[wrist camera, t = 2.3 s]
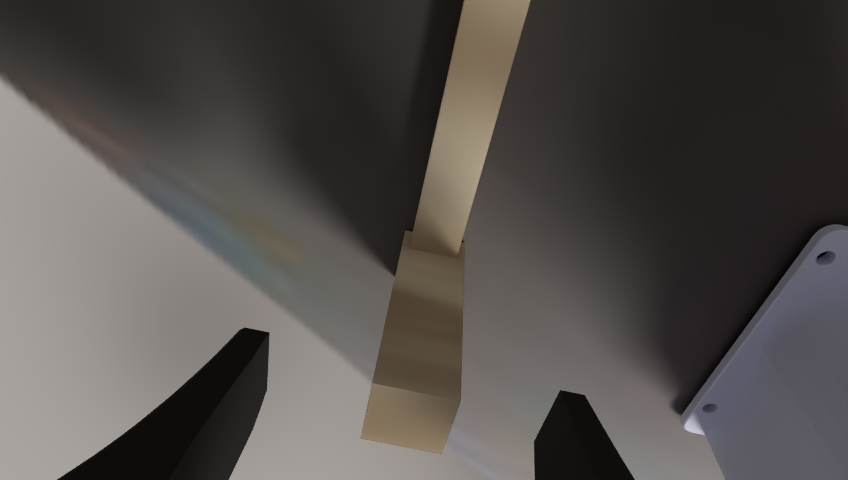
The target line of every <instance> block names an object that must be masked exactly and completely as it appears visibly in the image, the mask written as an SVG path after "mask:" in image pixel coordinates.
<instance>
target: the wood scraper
mask: <svg viewBox="0 0 848 480" xmlns="http://www.w3.org/2000/svg"><path fill="white" fill-rule="evenodd" d="M529 4H530V0H464V2H463V7H462V11H461V16H460V20H459V25H458V29H457V34H456V38H455V43H454V47H453V52H452V56H451V61H450V65H449V70H448V74H447V79H446V84H445V88H444V93H443V97H442V102H441V106H440V111H439V115H438V120H437V124H436V129H435V133H434V138H433V142H432V147H431V151H430V156H429V161H428V165H427V170H426V174H425V179H424V183H423V188H422V192H421V197H420V201H419V206H418V210H417V215H416V219H415V224H414V229H413V232H412V231H407V230H405V234H404V238H403V243H402V248H401V252H400V257H399V262H398V266H397V271H396V275H395V280H394V285H393V289H392V294H391V299H390V303H389V308H388V312H387V317H386V322H385V326H384V331H383V335H382V340H381V345H380V349H379V354H378V359H377V363H376V368H375V372H374V377H373V382H372V386H371V391H370V396H369V401H368V405H367V410H366V415H365V420H364V425H363V430H362V435H361V439H366V440H371V441H376V442H381V443H387V444H392V445H396V446H401V447H406V448H412V449H417V450H422V451H427V452H432V453H438V454H442V451H443V449H444V446H445V443H446V440H447V438H448V435H449V432H450V429H451V427H452V424H453V421H454V418H455V415H456V413H457V410H458V407H459V404H460V401H461V372H462V334H463V296H464V258H465V243H463V242H461V241H462V238H463V234H464V231H465V227H466V224H467V220H468V217H469V213H470V210H471V206H472V203H473V200H474V196H475V193H476V189H477V186H478V182H479V179H480V175H481V172H482V168H483V165H484V161H485V158H486V154H487V151H488V147H489V144H490V140H491V137H492V133H493V130H494V126H495V123H496V119H497V116H498V112H499V109H500V105H501V102H502V98H503V95H504V91H505V88H506V84H507V81H508V77H509V74H510V70H511V67H512V63H513V60H514V56H515V53H516V49H517V46H518V42H519V39H520V35H521V32H522V28H523V25H524V21H525V18H526V14H527V11H528V7H529Z"/></svg>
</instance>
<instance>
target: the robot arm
mask: <svg viewBox="0 0 848 480" xmlns="http://www.w3.org/2000/svg"><path fill="white" fill-rule="evenodd" d="M826 251H827V253H826V254H825V255H824V256H822V257H819V258H817V256H819V255H820V254H821V253H823V252H826ZM268 353H269V332H264V331H259V330H254V329H249V328H243V329H241V330H239V331H238V332H237V333H236V334H235V335H234V337H233V338H232V339H231V340H230V341H229V342H228V343H227V344H226V345H225V346H224V347H223V348H222V349H221V350H220V351H219V352H218V353H217V354H216V355H215V356H214V357H213V358H212V359H211V360H210V361H209V362H208V363H207V364H206V365H204V366H203V367H202V368H201V370H199V371H198V372H197V373H196V374H195V375H194V376H193V377H192V378H190V379H189V380H188V381H187V382H186V383H185V384H184V385H183V386H182V387H180V388H179V389H178V390H177V391H176V392H175V393H174V394H173V395H171V396H170V397H169V398H168V399H167V400H165V401H164V402H163V403H162V404H160V405H159V406H158V407H157V408H156V409H154V410H153V411H152V412H151V413H150V414H148V415H147V416H146V417H145V418H143V419H142V420H141V421H140V422H138V423H137V424H136V425H135V426H133V427H132V428H131V429H129V430H128V431H127V432H125V433H124V434H123V435H122V436H120V437H119V438H117V439H116V440H115V441H113V442H112V443H111V444H109V445H108V446H107V447H105V448H104V449H102V450H101V451H99V452H98V453H97V454H95V455H94V456H92V457H91V458H89V459H88V460H86V461H85V462H83V463H82V464H80V465H79V466H77V467H76V468H74V469H73V470H71V471H70V472H68V473H67V474H65V475H64V476H62V477H61V478H59V479H57V480H229V478H230V476H231V474H232V472H233V469H234V467H235V465H236V463H237V461H238V459H239V457H240V455H241V453H242V451H243V449H244V447H245V445H246V443H247V440H248V438H249V436H250V434H251V431H252V430H253V427H254V424H255V422H256V419H257V416H258V413H259V411H260V408H261V405H262V402H263V399H264V396H265V393H266V391H267V376H268ZM680 420H681V423H682V425H683V428H684V429H685V430H686V431H689V432H692V433H697V434H702V435H706V437H707V439H708V442H709V444H710V446H711V448H712V451H713V453H714V455H715V457H716V460H717V462H718V464H719V466H720V469H721V471H722V473H723V475H724V478H725V480H848V226H844V225H837V224H832V225H828V226H825V227H823V228H821V229H820V230H818V231H817V232H816V233H815V234H814V235H813V237H812V238H811V239H810V241H809V242H808V243H807V245H806V246H805V247H804V249H803V250H802V252H801V253H800V254H799V256H798V257H797V258H796V260H795V261H794V262H793V264H792V265H791V267H790V268H789V269H788V271H787V272H786V273H785V275H784V276H783V277H782V279H781V280H780V281H779V283H778V284H777V286H776V287H775V288H774V290H773V291H772V292H771V294H770V295H769V296H768V298H767V299H766V301H765V302H764V303H763V305H762V306H761V307H760V309H759V310H758V311H757V313H756V314H755V316H754V317H753V318H752V320H751V321H750V322H749V324H748V325H747V326H746V328H745V329H744V331H743V332H742V333H741V335H740V336H739V337H738V339H737V340H736V341H735V343H734V344H733V346H732V347H731V348H730V350H729V351H728V352H727V354H726V355H725V356H724V358H723V359H722V361H721V362H720V363H719V365H718V366H717V367H716V369H715V370H714V371H713V373H712V374H711V376H710V377H709V378H708V380H707V381H706V382H705V384H704V385H703V386H702V388H701V389H700V391H699V392H698V393H697V395H696V396H695V397H694V399H693V400H692V401H691V403H690V404H689V406H688V407H687V408H686V410H685V411H684V412H683V414H682V415H681V417H680ZM534 465H535V480H635V479H634V478H633V476H632V474H631V473H630V471H629V470H628V468H627V467H626V465H625V463H624V462H623V460H622V458H621V457H620V455H619V453H618V452H617V450H616V448H615V447H614V445H613V443H612V442H611V440H610V438H609V436H608V435H607V433H606V431H605V430H604V428H603V426H602V424H601V423H600V421H599V419H598V417H597V416H596V414H595V412H594V411H593V409H592V407H591V405H590V404H589V402H588V400H587V399H586V397H585V395H582V394H577V393H572V392H567V391H561V390H560V392H559V394H558V396H557V398H556V400H555V402H554V404H553V406H552V408H551V409H550V411H549V413H548V415H547V417H546V419H545V421H544V423H543V425H542V427H541V429H540V431H539V433H538V435H537V437H536V439H535V441H534Z"/></svg>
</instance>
